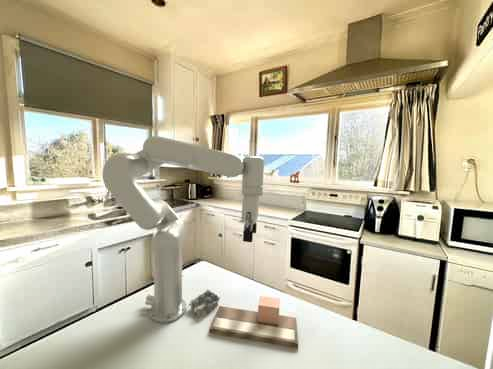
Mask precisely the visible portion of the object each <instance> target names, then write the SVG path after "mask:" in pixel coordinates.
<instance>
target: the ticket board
mask: <svg viewBox="0 0 493 369" xmlns="http://www.w3.org/2000/svg"><path fill="white" fill-rule="evenodd" d="M208 329H209V330H208V332H209V334H214V335H220V336H221V335H222V336H227V337H232V338H238V339H244V340H248V341H255V342H260V343H266V344H273V345H278V346H284V347H287V348H288V347H289V348H296V349H299V338H298V337H299V334H298V325H297V317H294V316H293V317H292V316H287V315H281V314H279V325H275V324H269V323H263V322H258V311H254V310H248V309H240V308H234V307H229V306H220V305H218V308H217V310H216V313H215V315H214V317H213V319H212V321H211V324H210V326H209V328H208Z"/></svg>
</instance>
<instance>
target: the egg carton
mask: <svg viewBox="0 0 493 369" xmlns="http://www.w3.org/2000/svg"><path fill="white" fill-rule="evenodd" d="M220 299H221V296H218V295H217V294H215V292H213V291H211V290H209V289H207V290H205V291H204V293H201V294H199V295H198V296H197V297H195V298H194V299H191V300H190V301H189V304H188V306H189V307H190V313H192V314H197V317H198V318H201V317H202V318H203V317H206V316H207V312H212V311H213V307H219V301H220ZM199 304H204V306H203V305H202V307H200V308H199Z"/></svg>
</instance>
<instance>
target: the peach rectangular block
mask: <svg viewBox="0 0 493 369" xmlns="http://www.w3.org/2000/svg"><path fill="white" fill-rule="evenodd" d="M280 302H281V301H280V298H277V297H270V296H264V295H259V301H258V306H257V312H258V322H263V323H269V324H275V325H279V315H280V304H281V303H280Z"/></svg>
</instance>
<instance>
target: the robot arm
mask: <svg viewBox="0 0 493 369" xmlns="http://www.w3.org/2000/svg"><path fill="white" fill-rule="evenodd" d="M164 164H166V165H172V166H176V167H180V168H185V169H189V170H192V171H193V170H195V171H200V172H201V171H202V172H206V173H208V174H209V173H210V174H213V175H219V176H224V177H228V178H236V177H238V176H241V177H242V179H241V195H242V196H243V197H242V198H243V199H242V206H241V218H240V222H241V224H244V226H243V231H242V232H243V235H242V241H243V242H244V243H247V242H248V243H252V242H253V237H254V236H253V235H254V234H256V233H257V220H258V216H259V207H260V206H259V205H260V204H259V203H260V197H261V196H263V191H264V190H263V189H264V175H265V174H264V170H265V160H264V158H263V157H262V156H256V155H253V156H251V155H246V156H239V155H237V154H235V153H231V152H226V151H223V150H216V149H212V148H209V147H204V146H201V145H199V144H195V143H190V142H185V141H180V140H176V139H172V138H167V137H164V136H159V135H152V136H149V137H148V138H146V139H145V141H143V144H142V149H140V150H139V151H138V152H136V153H129V152H128V153H126V152H122V153H119V152H118V153H116V154H113V155H112V156H110V157H109V158H108V159H107V160H106V161H105V163H104V164H103V167H102V175H101V176H102V180H103V184H104V186H105V188H106V189H107V190H108V192H109V193H110V194H111V195H112V196H113V198H114V199H115V200H116V201H117V202H118V203H119V204H120V206H122V208H123V209H124V210H125V212H126V213H127V214H128V215H129V217H130V218H131V219H132V220H133V221H134V222H135V224H136V225H137V226H138V227H139V228H140V229H142V230H144V231H150V230H154V229H156V230H157V231H156V232H155V234H154V236H153V238H152V241H151V252H152V259H153V294H148V295H146V299H145V303H144V304H145V305H147V306H151V307H150V309H149V317H150V319H151V320H152V321H153V322H156V323H159V324H160V323H161V324H165V323H171V322H173V321H174V322H175V321H176V320H178V319H179V318H181V317H183V315H184V314H185V312H186V310H187V302H186V301H185V300H184V299H183V257H182V244H183V242H184V240H185V238H186V236H187V228H186V225H185V224H184V222H183V220H182V219H181V218H180V217H179V216H178V214H177V213H176V212H175V211H174V209H173V208H172V207H171V206H170V205H169V203H167V202H166V201H165V200H163V199H161V198H151V196H150V195H148V193H147V192H146V191H145V189H144V188H143V187H142V186H140V184H138V182H136V181H135V179H134V178H140V177H143V176H145V175H148V174H149V173H150V172H153V171H154V170H155V169H157V168H159V167H162V166H163V165H164Z"/></svg>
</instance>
